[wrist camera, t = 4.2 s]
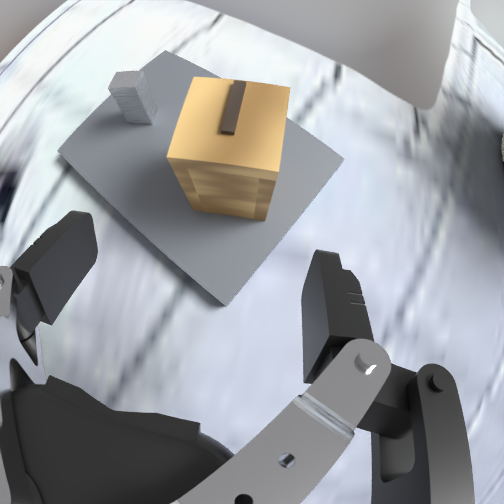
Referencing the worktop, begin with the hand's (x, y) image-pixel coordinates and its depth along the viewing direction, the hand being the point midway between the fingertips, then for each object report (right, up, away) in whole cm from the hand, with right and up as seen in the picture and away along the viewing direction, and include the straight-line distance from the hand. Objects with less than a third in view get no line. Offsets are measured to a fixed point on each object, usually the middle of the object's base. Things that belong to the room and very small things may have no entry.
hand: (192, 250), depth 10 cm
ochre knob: (+1, +5, +11) cm, 12 cm away
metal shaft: (-7, +11, +12) cm, 17 cm away
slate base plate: (-3, +8, +13) cm, 15 cm away
